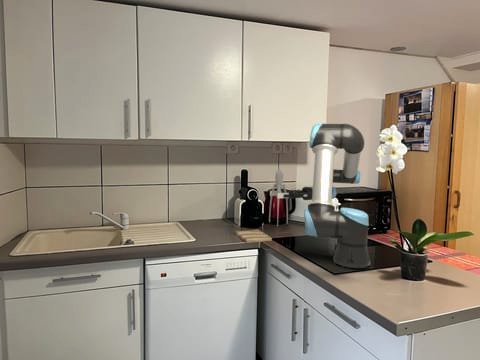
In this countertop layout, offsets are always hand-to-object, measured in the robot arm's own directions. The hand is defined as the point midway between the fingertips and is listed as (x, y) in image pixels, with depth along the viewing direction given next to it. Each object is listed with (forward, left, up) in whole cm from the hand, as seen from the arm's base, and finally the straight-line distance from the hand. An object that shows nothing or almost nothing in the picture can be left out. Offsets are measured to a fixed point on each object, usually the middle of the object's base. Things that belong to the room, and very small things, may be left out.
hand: (273, 194), depth 190 cm
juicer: (0, -5, -17) cm, 17 cm away
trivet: (0, +12, -23) cm, 26 cm away
